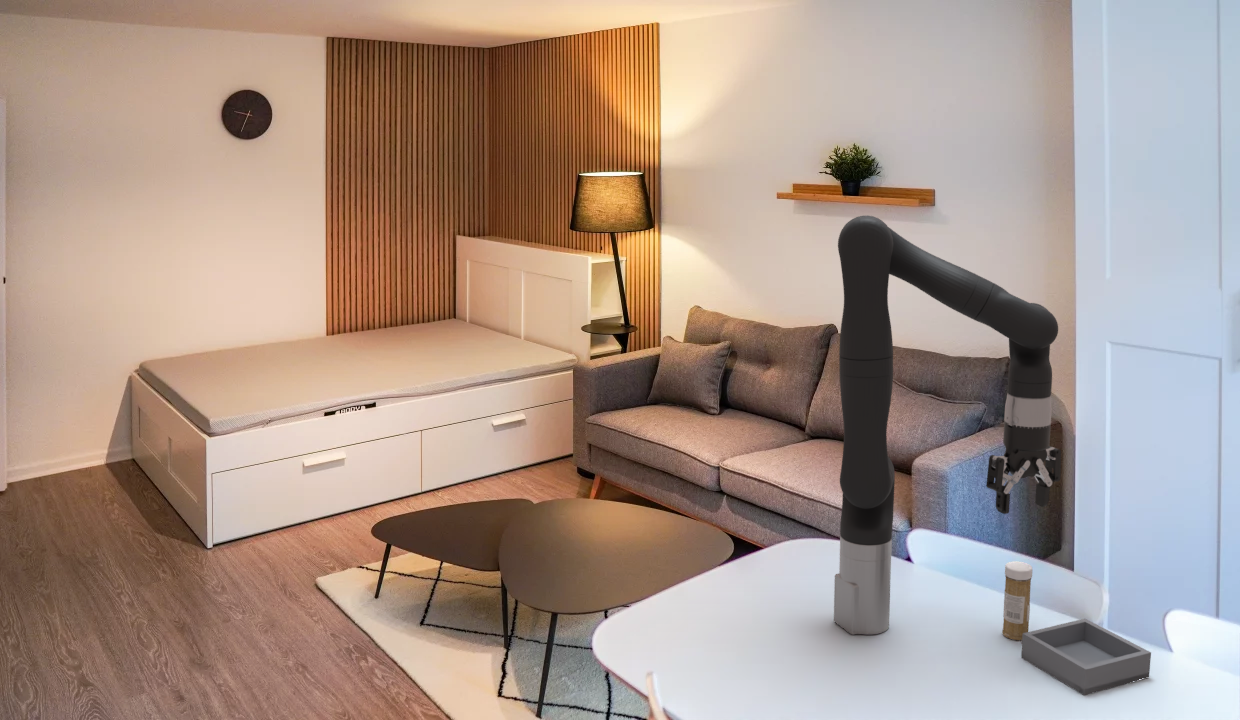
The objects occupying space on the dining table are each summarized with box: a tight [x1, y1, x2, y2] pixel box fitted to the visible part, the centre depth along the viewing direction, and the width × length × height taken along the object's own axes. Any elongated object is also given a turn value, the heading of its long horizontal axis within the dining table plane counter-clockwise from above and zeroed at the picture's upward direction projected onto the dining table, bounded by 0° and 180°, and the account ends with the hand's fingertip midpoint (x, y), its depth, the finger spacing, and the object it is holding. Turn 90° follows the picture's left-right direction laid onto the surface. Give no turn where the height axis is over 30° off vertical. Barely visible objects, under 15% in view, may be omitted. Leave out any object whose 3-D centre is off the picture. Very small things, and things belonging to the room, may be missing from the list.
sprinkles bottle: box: [1001, 561, 1033, 641], centre depth 188 cm, size 5×5×13 cm
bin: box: [1020, 618, 1152, 696], centre depth 177 cm, size 14×14×4 cm
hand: (1022, 508), depth 185 cm, fingers open, 8 cm apart
